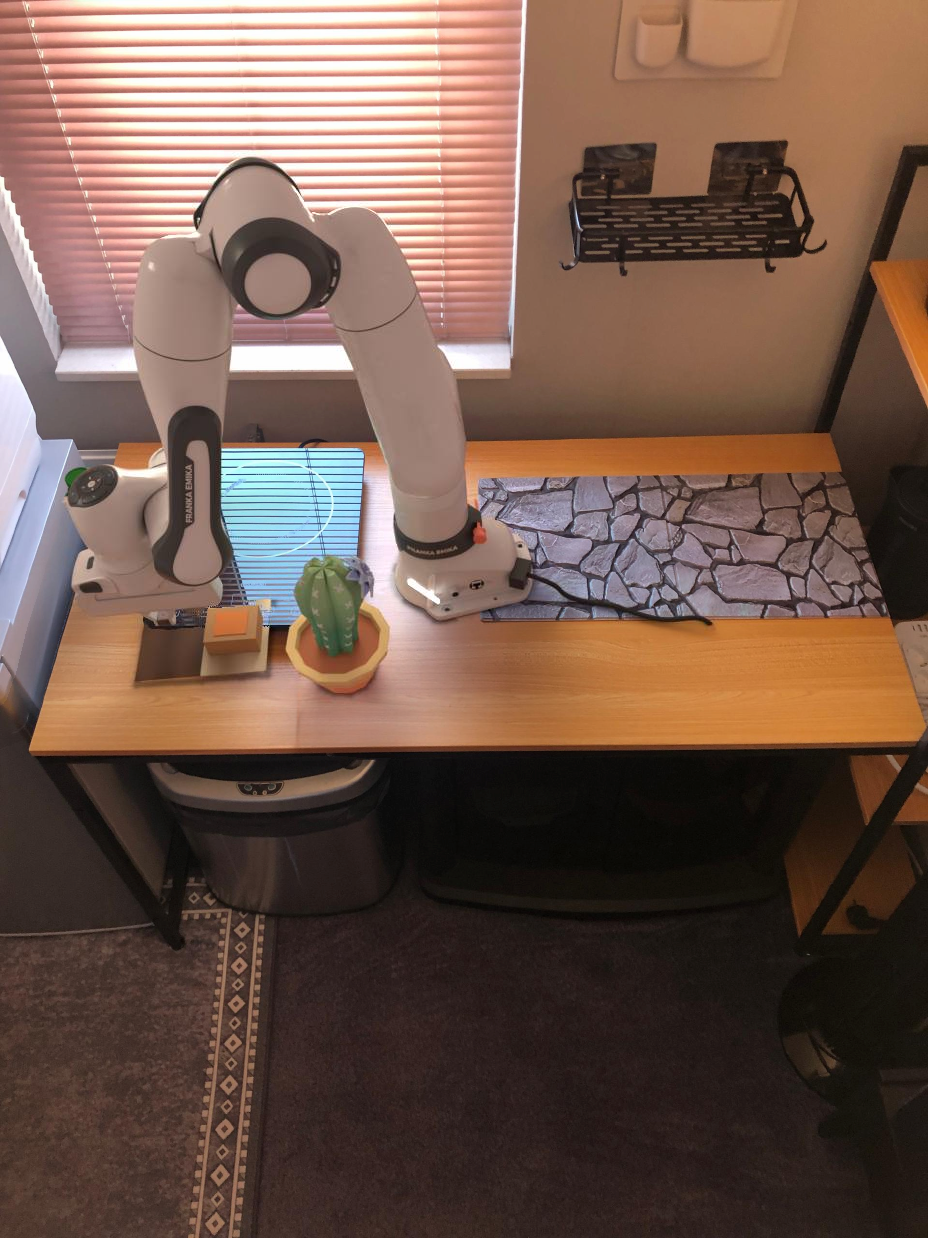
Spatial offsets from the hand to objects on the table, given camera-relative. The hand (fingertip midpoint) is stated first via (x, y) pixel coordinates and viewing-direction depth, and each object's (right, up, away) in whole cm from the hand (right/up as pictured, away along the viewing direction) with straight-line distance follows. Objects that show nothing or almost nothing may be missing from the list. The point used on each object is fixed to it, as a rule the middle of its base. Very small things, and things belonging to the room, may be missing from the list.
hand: (166, 622), depth 143 cm
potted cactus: (+27, -7, +1) cm, 28 cm away
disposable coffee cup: (-2, +19, +23) cm, 30 cm away
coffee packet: (+10, -2, +4) cm, 11 cm away
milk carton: (-10, +10, +16) cm, 22 cm away
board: (+5, -3, +5) cm, 8 cm away
